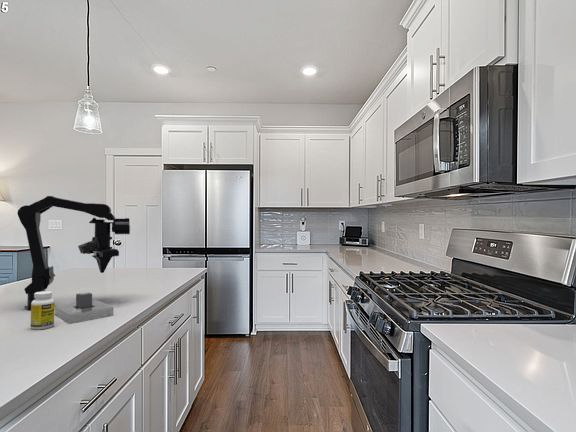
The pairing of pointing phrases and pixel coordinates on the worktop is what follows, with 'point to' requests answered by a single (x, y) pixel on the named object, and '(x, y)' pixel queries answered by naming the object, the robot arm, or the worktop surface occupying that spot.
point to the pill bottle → (42, 310)
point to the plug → (84, 300)
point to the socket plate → (83, 312)
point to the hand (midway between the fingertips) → (102, 272)
